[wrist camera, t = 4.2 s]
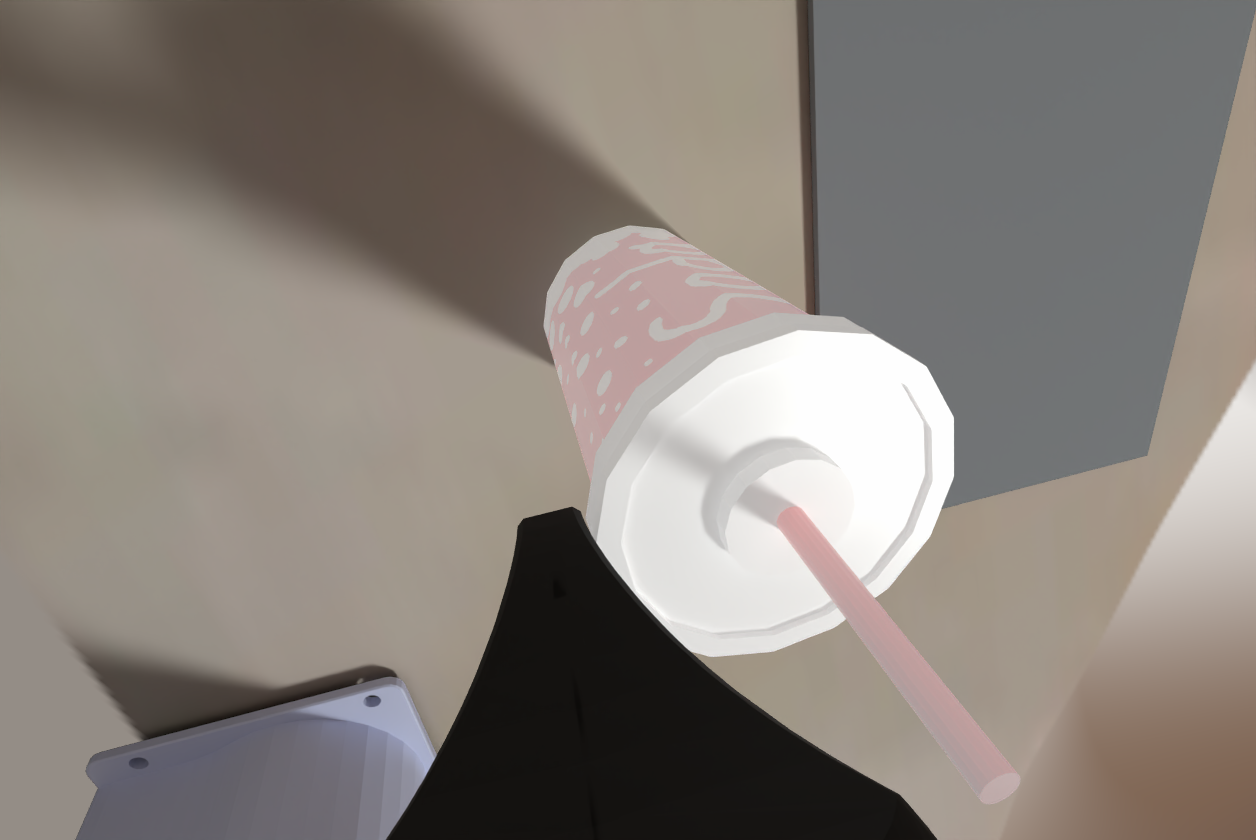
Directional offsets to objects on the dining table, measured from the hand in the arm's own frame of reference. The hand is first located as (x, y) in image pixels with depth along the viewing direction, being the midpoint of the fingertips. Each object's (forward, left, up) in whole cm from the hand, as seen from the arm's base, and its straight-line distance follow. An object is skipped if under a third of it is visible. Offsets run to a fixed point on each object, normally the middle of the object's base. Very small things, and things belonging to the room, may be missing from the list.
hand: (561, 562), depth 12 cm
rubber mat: (+14, -1, -9) cm, 16 cm away
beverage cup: (+3, 0, -9) cm, 10 cm away
